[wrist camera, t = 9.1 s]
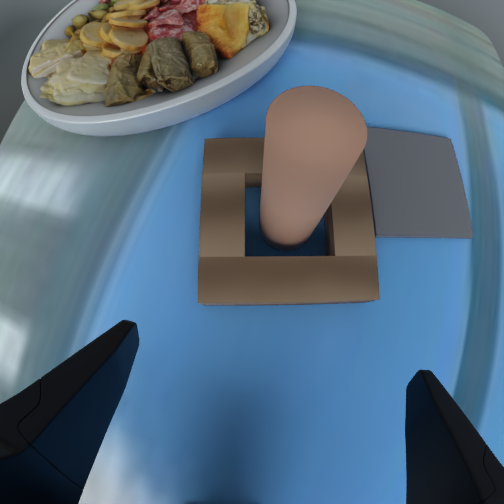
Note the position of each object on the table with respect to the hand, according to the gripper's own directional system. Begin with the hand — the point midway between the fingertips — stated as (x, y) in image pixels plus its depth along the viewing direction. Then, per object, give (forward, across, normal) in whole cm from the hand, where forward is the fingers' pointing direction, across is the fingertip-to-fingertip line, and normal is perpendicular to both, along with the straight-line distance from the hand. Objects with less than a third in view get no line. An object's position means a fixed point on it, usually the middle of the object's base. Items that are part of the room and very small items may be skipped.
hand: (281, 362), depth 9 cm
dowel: (+16, 0, +4) cm, 16 cm away
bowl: (+30, +17, -9) cm, 35 cm away
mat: (+20, -11, -1) cm, 23 cm away
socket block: (+16, 0, +4) cm, 16 cm away
